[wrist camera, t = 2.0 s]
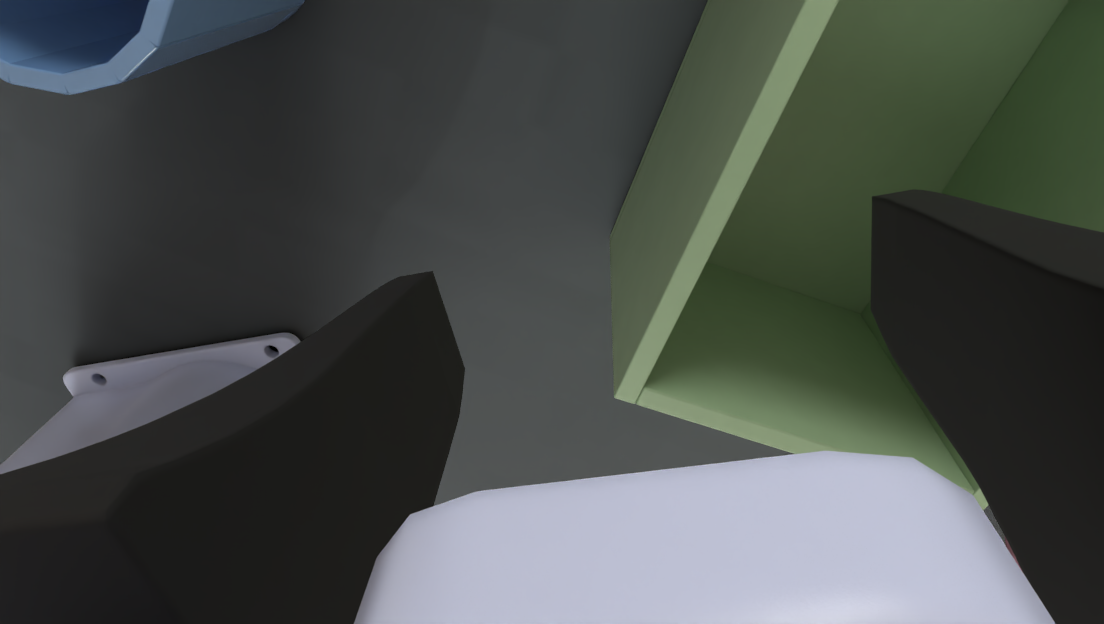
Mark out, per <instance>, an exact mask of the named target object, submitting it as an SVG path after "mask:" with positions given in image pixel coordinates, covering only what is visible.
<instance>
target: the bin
mask: <svg viewBox="0 0 1104 624" xmlns="http://www.w3.org/2000/svg"><path fill="white" fill-rule="evenodd" d="M913 189H916V190H926V191H932V192H937V193H942V194H946V195H951V196H955V197H959V198H963V199H967V200H971V201H974V202H978V203H982V204H986V205H990V206H993V207H997V208H1001V209H1005V210H1009V211H1013V212H1016V213H1020V214H1024V215H1028V216H1032V217H1036V218H1040V219H1045V220H1049V221H1053V222H1057V223H1062V224H1066V225H1071V226H1076V227H1081V228H1085V229H1090V230H1095V231H1100V232H1104V0H708V1H707V4H706V6H705V9H704V11H703V13H702V16H701V18H700V21H699V23H698V25H697V28H696V30H695V33H694V35H693V38H692V40H691V42H690V45H689V47H688V50H687V52H686V54H685V57H684V59H683V62H682V64H681V66H680V69H679V71H678V74H677V76H676V78H675V81H674V83H673V86H672V88H671V90H670V93H669V95H668V98H667V100H666V102H665V105H664V107H663V110H662V112H661V114H660V117H659V119H658V122H657V124H656V127H655V129H654V131H653V134H652V136H651V139H650V141H649V143H648V146H647V148H646V151H645V153H644V155H643V158H642V160H641V163H640V165H639V167H638V170H637V172H636V175H635V177H634V179H633V182H632V184H631V187H630V189H629V191H628V194H627V196H626V199H625V201H624V203H623V206H622V208H621V211H620V213H619V216H618V218H617V220H616V223H615V225H614V228H613V230H612V232H611V235H610V267H611V303H612V339H613V375H614V397H615V398H616V399H620V400H623V401H626V402H629V403H632V404H635V403H636V404H637V405H640V406H643V407H646V408H649V409H652V410H656V411H659V412H662V413H665V414H669V415H672V416H675V417H678V418H681V419H685V420H688V421H691V422H694V423H697V424H701V425H704V426H707V427H710V428H713V429H717V430H720V431H723V432H726V433H730V434H733V435H736V436H739V437H742V438H746V439H749V440H752V441H755V442H758V443H762V444H765V445H768V446H771V447H775V448H778V449H781V450H784V451H787V452H791V453H794V454H801V453H810V452H818V451H836V452H849V453H862V454H875V455H887V456H900V457H913V458H914V459H916V460H917V461H919V462H921V463H922V464H924V465H926V466H927V467H929V468H930V469H932V470H934V471H935V472H937V473H938V474H940V475H942V476H943V477H945V478H946V479H948V480H950V481H951V482H953V483H954V484H956V485H958V486H959V487H961V488H962V489H964V490H966V491H967V492H969V493H970V494H972V495H973V496H974V497H975V499H976V500H977V502H978V504H979V505H980V507H981V508H982V510H984V509H985V508H986V507H987V506H988V503H987V501H986V499H985V497H984V495H983V493H982V491H981V489H980V487H979V486H978V484H977V482H976V481H975V479H974V477H973V476H972V474H971V472H970V471H969V469H968V468H967V466H966V464H965V463H964V461H963V460H962V458H961V457H960V455H959V454H958V452H957V451H956V449H955V448H954V447H953V445H952V444H951V442H950V441H949V439H948V438H947V436H946V435H945V434H944V432H943V431H942V429H941V428H940V426H939V425H938V423H937V422H936V420H935V419H934V418H933V416H932V415H931V413H930V412H929V410H928V409H927V407H926V406H925V405H924V403H923V402H922V400H921V399H920V397H919V396H918V394H917V393H916V391H915V390H914V388H913V387H912V386H911V384H910V383H909V381H908V380H907V378H906V377H905V375H904V374H903V372H902V371H901V369H900V368H899V366H898V365H897V363H896V362H895V360H894V359H893V357H892V355H891V353H890V351H889V349H888V347H887V345H886V343H885V341H884V339H883V336H882V334H881V332H880V330H879V328H878V325H877V323H876V321H875V318H874V316H873V314H872V312H871V231H872V196H877V195H883V194H889V193H895V192H901V191H907V190H913Z"/></svg>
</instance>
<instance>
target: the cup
mask: <svg viewBox="0 0 1104 624" xmlns="http://www.w3.org/2000/svg"><path fill="white" fill-rule="evenodd" d="M304 1H305V0H0V79H2V80H4V81H5V82H8V83H11V84H13V85H18V86H24V87H29V88H34V89H39V90H45V91H50V92H55V93H60V94H65V95H74V94H79V93H83V92H87V91H91V90H95V89H100V88H104V87H108V86H112V85H116V84H120V83H123V82H126V81H129V80H132V79H134V78H137V77H140V76H143V75H146V74H148V73H151V72H154V71H157V70H160V69H162V68H165V67H168V66H171V65H174V64H176V63H179V62H182V61H185V60H188V59H190V58H193V57H196V56H199V55H202V54H204V53H207V52H210V51H213V50H216V49H218V48H221V47H224V46H227V45H230V44H232V43H235V42H238V41H241V40H244V39H246V38H249V37H252V36H255V35H258V34H260V33H263V32H266V31H269V30H271V29H273V28H274V27H275V26H276V25H278V24H280V23H282V22H284V21H285V20H286V19H288V18H289V17H290V16H292V15H293V14H294V13H295V12H296V11H297V10H298V9H299V8H300V7H301V6H302V4H303V3H304Z"/></svg>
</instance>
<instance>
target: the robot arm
mask: <svg viewBox="0 0 1104 624" xmlns="http://www.w3.org/2000/svg"><path fill="white" fill-rule="evenodd" d="M871 312H872V314H873V316H874V318H875V321H876V323H877V325H878V328H879V330H880V332H881V334H882V336H883V339H884V341H885V343H886V345H887V347H888V349H889V351H890V353H891V355H892V357H893V359H894V360H895V362H896V363H897V365H898V366H899V368H900V369H901V371H902V372H903V374H904V375H905V377H906V378H907V380H908V381H909V383H910V384H911V386H912V387H913V388H914V390H915V391H916V393H917V394H918V396H919V397H920V399H921V400H922V402H923V403H924V405H925V406H926V407H927V409H928V410H929V412H930V413H931V415H932V416H933V418H934V419H935V420H936V422H937V423H938V425H939V426H940V428H941V429H942V431H943V432H944V434H945V435H946V436H947V438H948V439H949V441H950V442H951V444H952V445H953V447H954V448H955V449H956V451H957V452H958V454H959V455H960V457H961V458H962V460H963V461H964V463H965V464H966V466H967V468H968V469H969V471H970V472H971V474H972V476H973V477H974V479H975V481H976V482H977V484H978V486H979V487H980V489H981V491H982V493H983V495H984V497H985V499H986V501H987V503H988V505H989V506H990V508H991V510H992V512H993V514H994V516H995V518H996V520H997V522H998V524H999V526H1000V527H1001V529H1002V531H1003V533H1004V535H1005V537H1006V539H1007V541H1008V543H1009V545H1010V547H1011V549H1012V551H1013V553H1014V555H1015V557H1016V559H1017V561H1018V563H1019V565H1020V567H1021V569H1022V571H1023V572H1022V571H1021V569H1020V567H1019V566H1018V564H1017V563H1016V561H1015V560H1014V558H1013V557H1012V555H1011V553H1010V552H1009V550H1008V549H1007V547H1006V546H1005V544H1004V543H1003V541H1002V539H1001V538H1000V536H999V535H998V533H997V532H996V530H995V529H994V527H993V525H992V524H991V522H990V521H989V519H988V518H987V516H986V514H985V513H984V511H983V510H982V508H981V507H980V505H979V504H978V502H977V500H976V499H975V497H974V496H973V495H972V494H970V493H969V492H967V491H966V490H964V489H962V488H961V487H959V486H958V485H956V484H954V483H953V482H951V481H950V480H948V479H946V478H945V477H943V476H942V475H940V474H938V473H937V472H935V471H934V470H932V469H930V468H929V467H927V466H926V465H924V464H922V463H921V462H919V461H917V460H916V459H914V458H913V457H900V456H887V455H875V454H862V453H849V452H836V451H818V452H810V453H801V454H793V455H784V456H776V457H767V458H759V459H750V460H741V461H733V462H724V463H716V464H707V465H699V466H690V467H682V468H673V469H664V470H656V471H647V472H639V473H630V474H622V475H613V476H605V477H596V478H587V479H579V480H570V481H562V482H553V483H545V484H536V485H528V486H519V487H510V488H502V489H493V490H485V491H476V492H473V493H471V494H468V495H465V496H462V497H459V498H456V499H453V500H450V501H447V502H445V503H442V504H439V505H436V506H433V505H434V502H435V498H436V495H437V491H438V488H439V485H440V481H441V478H442V474H443V471H444V468H445V464H446V461H447V457H448V454H449V451H450V447H451V443H452V440H453V436H454V433H455V429H456V426H457V422H458V418H459V414H460V406H461V399H462V391H463V382H464V372H465V367H464V364H463V361H462V358H461V355H460V352H459V349H458V346H457V343H456V340H455V337H454V334H453V331H452V328H451V325H450V322H449V319H448V316H447V313H446V310H445V307H444V304H443V301H442V298H441V295H440V292H439V289H438V286H437V283H436V280H435V277H434V274H433V271H430V272H424V273H419V274H413V275H407V276H401V277H398V278H396V279H393V280H391V281H389V282H388V283H386V284H384V285H383V286H381V287H379V288H378V289H376V290H375V291H373V292H372V293H370V294H369V295H367V296H366V297H364V298H363V299H362V300H360V301H359V302H357V303H356V304H355V305H353V306H352V307H350V308H349V309H348V310H346V311H345V312H343V313H342V314H341V315H339V316H338V317H336V318H335V319H334V320H332V321H331V322H329V323H328V324H326V325H325V326H324V327H322V328H321V329H319V330H318V331H316V332H315V333H313V334H312V335H310V336H309V337H307V338H306V339H304V340H303V341H300V340H299V339H298V337H296V336H295V335H293V334H291V333H277V334H271V335H265V336H259V337H253V338H247V339H241V340H235V341H228V342H222V343H216V344H210V345H204V346H198V347H192V348H186V349H180V350H174V351H168V352H162V353H156V354H150V355H144V356H138V357H132V358H126V359H120V360H114V361H108V362H102V363H96V364H90V365H84V366H78V367H73V368H71V369H70V370H68V371H67V372H66V373H65V374H64V376H63V381H64V383H65V385H66V387H67V388H68V390H69V391H70V393H71V394H72V396H73V397H74V398H73V399H72V400H70V401H69V402H68V403H67V404H66V405H65V406H64V407H63V408H62V409H61V410H60V411H58V412H57V413H56V414H55V415H54V416H53V417H52V418H51V419H50V420H49V421H48V422H47V423H45V424H44V425H43V426H42V427H41V428H40V429H39V430H38V431H37V432H36V433H35V434H33V435H32V436H31V437H30V438H29V439H28V440H27V441H26V442H25V443H24V444H23V445H22V446H20V447H19V448H18V449H17V450H16V451H15V452H14V453H13V454H12V455H11V456H10V457H8V458H7V459H6V460H5V461H4V462H3V463H2V464H1V465H0V624H1104V232H1100V231H1095V230H1090V229H1085V228H1081V227H1076V226H1071V225H1066V224H1062V223H1057V222H1053V221H1049V220H1045V219H1040V218H1036V217H1032V216H1028V215H1024V214H1020V213H1016V212H1013V211H1009V210H1005V209H1001V208H997V207H993V206H990V205H986V204H982V203H978V202H974V201H971V200H967V199H963V198H959V197H955V196H951V195H946V194H942V193H937V192H932V191H926V190H916V189H913V190H907V191H901V192H895V193H889V194H883V195H877V196H872V231H871ZM269 345H270V346H274V347H276V348H277V349H278V351H279V352H275V351H273V350H271V348H270V347H269ZM101 375H102V376H103V377H104V378H103V377H102V376H101ZM1023 573H1024V574H1023Z"/></svg>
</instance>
